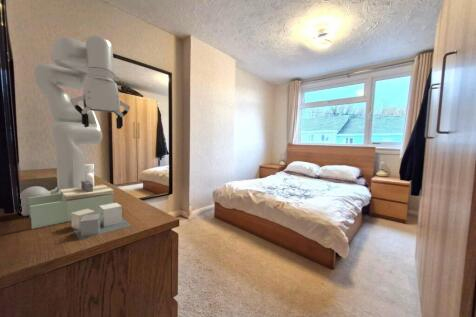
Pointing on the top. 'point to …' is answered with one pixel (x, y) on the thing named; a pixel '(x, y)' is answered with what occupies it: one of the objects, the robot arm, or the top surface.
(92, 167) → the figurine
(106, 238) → the top surface
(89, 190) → the lid
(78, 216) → the beige cube
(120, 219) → the white stacked cube
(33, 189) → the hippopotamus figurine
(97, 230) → the light grey cube
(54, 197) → the bin
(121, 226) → the mat
